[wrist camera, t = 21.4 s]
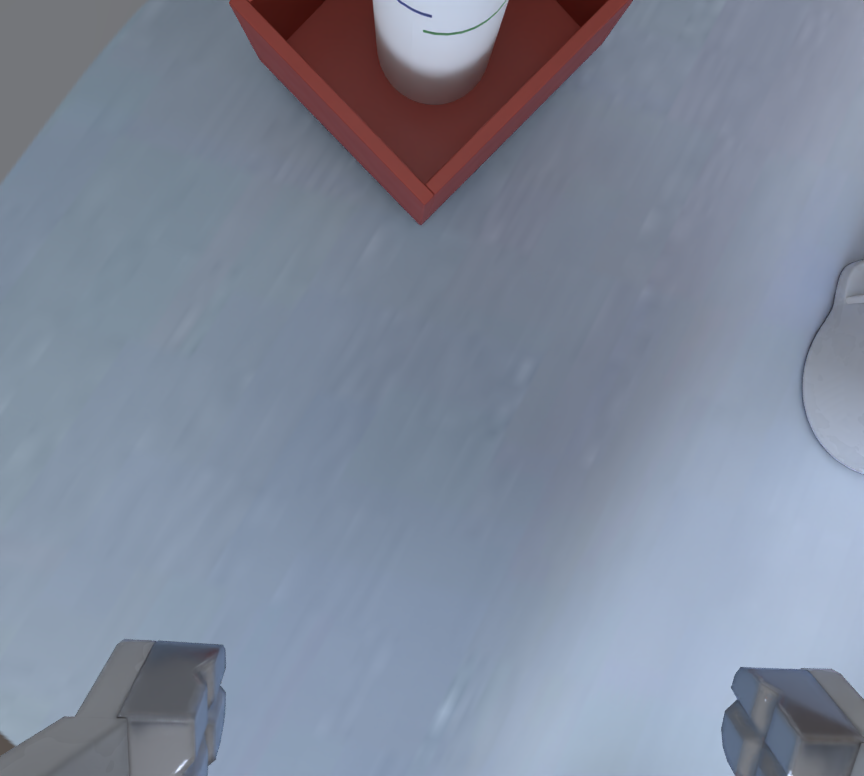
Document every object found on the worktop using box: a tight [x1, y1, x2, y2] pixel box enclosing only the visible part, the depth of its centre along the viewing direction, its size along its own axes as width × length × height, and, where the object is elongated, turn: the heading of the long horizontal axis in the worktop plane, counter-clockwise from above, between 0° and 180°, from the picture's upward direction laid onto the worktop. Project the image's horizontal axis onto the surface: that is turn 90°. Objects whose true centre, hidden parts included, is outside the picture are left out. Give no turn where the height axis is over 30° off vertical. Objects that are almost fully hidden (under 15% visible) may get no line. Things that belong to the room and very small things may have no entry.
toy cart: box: [229, 0, 633, 225], centre depth 42 cm, size 22×15×11 cm, turn 135°
